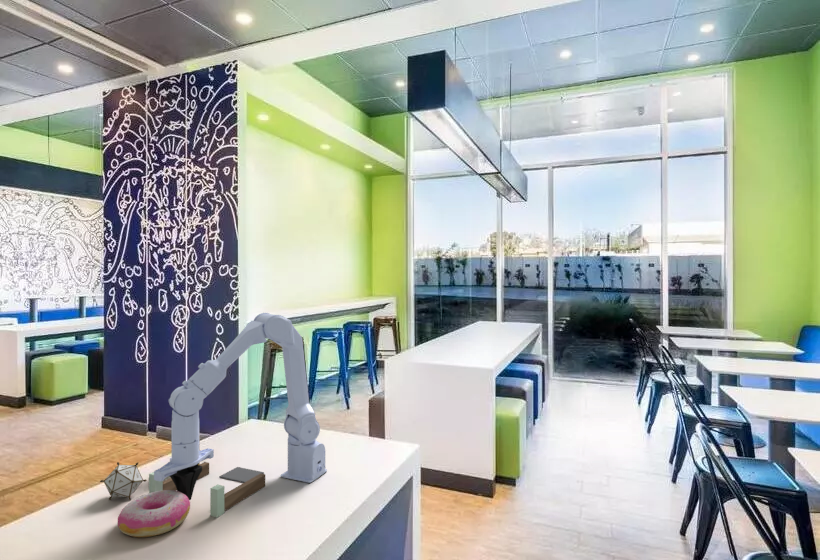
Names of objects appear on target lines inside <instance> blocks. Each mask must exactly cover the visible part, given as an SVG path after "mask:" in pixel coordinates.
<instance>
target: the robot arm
mask: <svg viewBox="0 0 820 560" xmlns="http://www.w3.org/2000/svg"><path fill="white" fill-rule="evenodd" d="M267 340H271V341H272V342H274V343H275V344H276V345H278V346H280V347H281V349H282V358H283V367H284V377H285V383H286V384H285V385H286V394H287V395H286V396H287V401H288V402H287V404H288V406H287V407H286V409H285V419H284V422H283V428H284V430H285V432H286V433H287V434H288V437H287V470H286V471H285V472H283V473H281V474H279V475H280V477H281V478H284V479H289V480H294V481H299V482H303V483H310V484H311V483H313V481H315V480H317V479H318V478H320V477H321V476H323V475H325V474H326V473H327V472H328V469H326V446H325V444H324V443H321V442H319V441H317V438H318V437H319V436H320V432H321V426H320V424H319V422H318V420H317V419H316V418H317V417H316V414H315V411H314V409H313V407H312V406H311V404H310V399H309V390H308V380H307V373H306V372H307V371H306V361H305V353H304V343H303V337H302V335H301V334H300V333H299V331H298V330H297V329H296V327H295V326H294V325H293V323H292V320H291V319H289V318H287V317H285V316H284V315H280V314H272V313H268V312H262V313H259V314H258V315H256V316H255V317H254V319H253V320H250V321H249V322H248V323H247V324H246V325H245V326H244V328H243V329H242V330H241V331H240V333H239V334H238V335H237V336H236V337H235V338H234V340H232V341H231V343H230V344H228V346H227V347H226V348H225V349H224V350H223V351H222V352H221V354H220V355H219V356H218V357H217V358H216V359H210V360H209V359H208V360H207V361H206V362H205V363H203V362H201V363H200V364H199V365H198V366H197V368H198V370H196V371H195V372H194V373H193V375H191V376H190V377H189V378H188V380H187V379H185V380H184V381H182V383H181V386H178V387H176V388H175V389H174V390H173V391H172V392H171V394H170V397H169V398H168V403H169V404H168V405H169V406H170V407H171V408H172V412H171V413H172V414H171V457H170V458H169V461H168V462H167V463H166V464H164V465H163V466H161V467H160V468H157V469H156V470H154V471H153V472H154V480H156V481H165V479H167V477H168V476H170V477H171V479H172V480H173V482H174V484H175V486H176V488H177V490H176V491H179V492H181V493H183V494H185V495H186V496H187V497H188V499H189V501H191V500H192V497H193V493H194V490H195V485H196V483H197V481H198V480H199V479H198V477H199V475H200V473H201V472H202V466H200V465H198V463H199V462H203V461H206V460H207V459H212V458H214V451H215V450H214V449H213V448H209V447H207V448H205V449H201V450H200V451H199V437H200V410H201V409H202V408H203V404H204V399H205V398H207V397H208V396H209V395H210V394H211V393H212V392H213V391H214V390H215V389H216V388H217V387H218V386H219V385H220V384H221V383H222V382H223V381H224V380H225V378H226V377H227V372H228V371H227V370H228V368H229V367H230V366H232V364H233V363H234V362H235V361H237V360H238V359H239V358H240V357H241V356H242V355H243V354H244V353H245V352H247V350H248V349H249V348H250V347H252V346H253V345H258V344H259V345H260V344H263V343H268V341H267ZM197 479H198V480H197Z"/></svg>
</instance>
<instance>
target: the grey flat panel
mask: <svg viewBox="0 0 820 560" xmlns="http://www.w3.org/2000/svg"><path fill="white" fill-rule="evenodd" d="M260 473H261V474H265V472H264V471H260V470H255V469H249V468H245V467H241V466H237V467H236V466H235V468H233V469H231V470H229V471H226V472H225V473H223V474H222V475H220V476H218V477H219V478H220V479H224V480H228V481H229V480H230V481H235V482H239V483H241V484H243V483H245V482H246V481H248V480H250V479H252V478H253V477H255V476H257V475H259V474H260Z"/></svg>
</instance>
